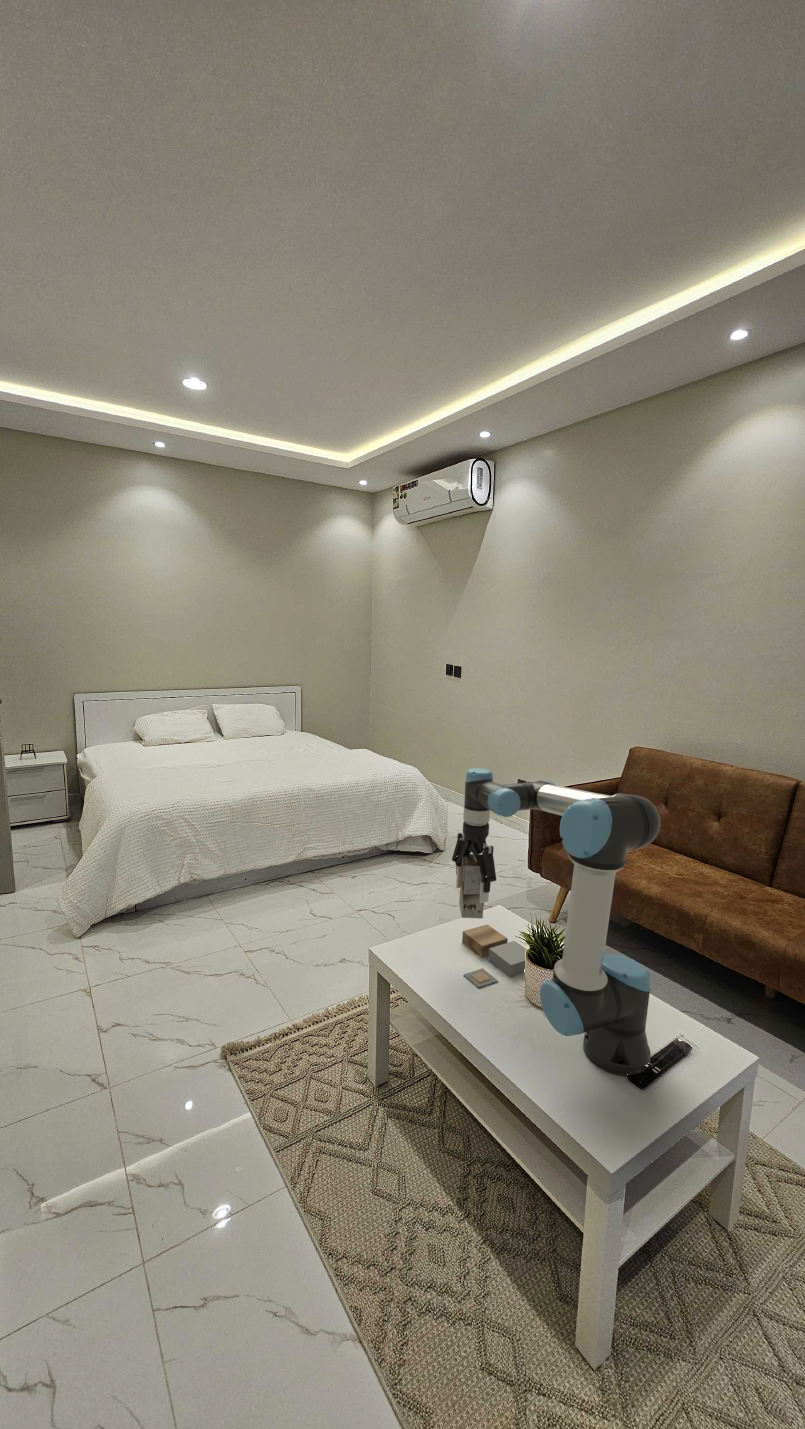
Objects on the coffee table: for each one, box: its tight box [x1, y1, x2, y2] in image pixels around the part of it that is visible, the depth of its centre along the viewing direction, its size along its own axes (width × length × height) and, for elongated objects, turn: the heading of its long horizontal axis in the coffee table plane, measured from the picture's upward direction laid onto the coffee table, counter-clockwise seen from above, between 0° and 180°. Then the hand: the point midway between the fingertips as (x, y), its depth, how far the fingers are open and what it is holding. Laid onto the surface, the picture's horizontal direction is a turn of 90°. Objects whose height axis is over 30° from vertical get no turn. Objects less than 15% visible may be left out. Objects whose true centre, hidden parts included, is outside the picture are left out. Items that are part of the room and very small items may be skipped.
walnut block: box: [461, 924, 509, 959], centre depth 190 cm, size 10×10×4 cm
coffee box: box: [458, 853, 485, 920], centre depth 177 cm, size 9×6×16 cm
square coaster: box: [463, 968, 499, 989], centre depth 173 cm, size 7×7×1 cm
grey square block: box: [487, 940, 527, 979], centre depth 180 cm, size 10×10×4 cm
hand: (471, 894), depth 177 cm, fingers closed on coffee box, 10 cm apart
